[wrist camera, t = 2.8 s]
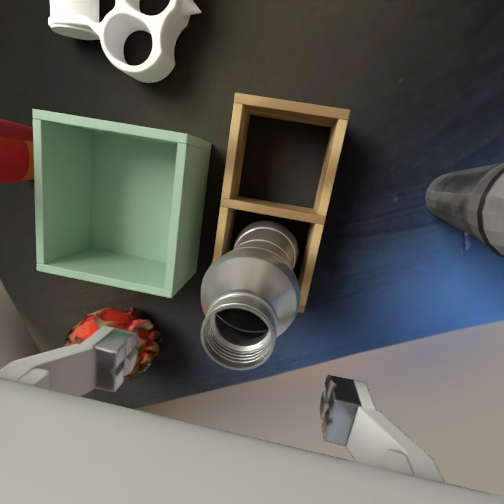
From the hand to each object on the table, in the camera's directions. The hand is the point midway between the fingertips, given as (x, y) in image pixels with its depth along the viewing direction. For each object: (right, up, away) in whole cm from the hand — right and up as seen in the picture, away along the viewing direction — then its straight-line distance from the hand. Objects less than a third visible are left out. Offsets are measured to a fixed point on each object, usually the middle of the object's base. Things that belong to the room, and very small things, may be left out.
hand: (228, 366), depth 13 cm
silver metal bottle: (+3, +6, +21) cm, 22 cm away
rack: (+3, +10, +20) cm, 23 cm away
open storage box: (-11, +11, +22) cm, 27 cm away
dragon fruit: (-15, -5, +26) cm, 31 cm away
